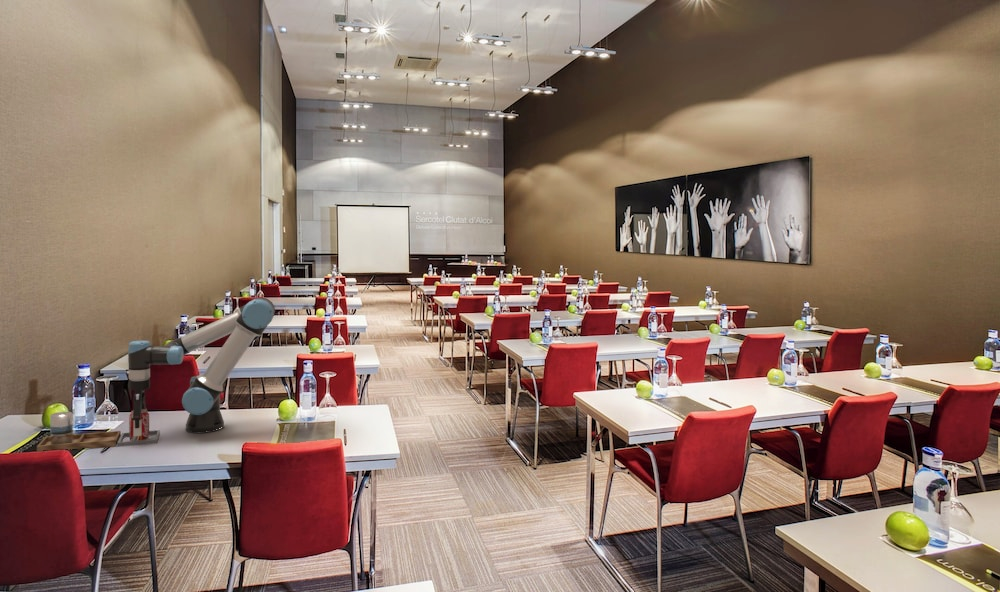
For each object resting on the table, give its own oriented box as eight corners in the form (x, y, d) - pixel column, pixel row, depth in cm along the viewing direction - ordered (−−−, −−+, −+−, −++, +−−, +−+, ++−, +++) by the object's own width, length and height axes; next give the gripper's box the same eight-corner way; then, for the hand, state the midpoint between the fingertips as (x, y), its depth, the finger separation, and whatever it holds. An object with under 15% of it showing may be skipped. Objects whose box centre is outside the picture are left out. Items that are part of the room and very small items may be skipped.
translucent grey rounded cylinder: (74, 441, 244) (74, 411, 243) (70, 446, 238) (70, 415, 237) (52, 442, 241) (52, 412, 240) (48, 448, 235) (48, 417, 234)
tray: (159, 433, 259) (159, 430, 259) (157, 443, 247) (157, 439, 247) (122, 436, 254) (122, 432, 254) (117, 446, 241) (117, 442, 241)
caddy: (120, 436, 253) (120, 430, 253) (116, 446, 241) (116, 440, 241) (45, 442, 243) (45, 436, 242) (36, 452, 231) (36, 446, 231)
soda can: (140, 443, 246) (140, 413, 245) (124, 441, 248) (124, 412, 247) (153, 438, 253) (153, 409, 252) (138, 436, 255) (138, 408, 254)
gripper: (132, 373, 258) (132, 423, 260) (124, 386, 236) (124, 440, 237) (152, 372, 261) (152, 422, 263) (146, 385, 239) (146, 439, 241)
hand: (139, 431), depth 250 cm, fingers open, 12 cm apart
